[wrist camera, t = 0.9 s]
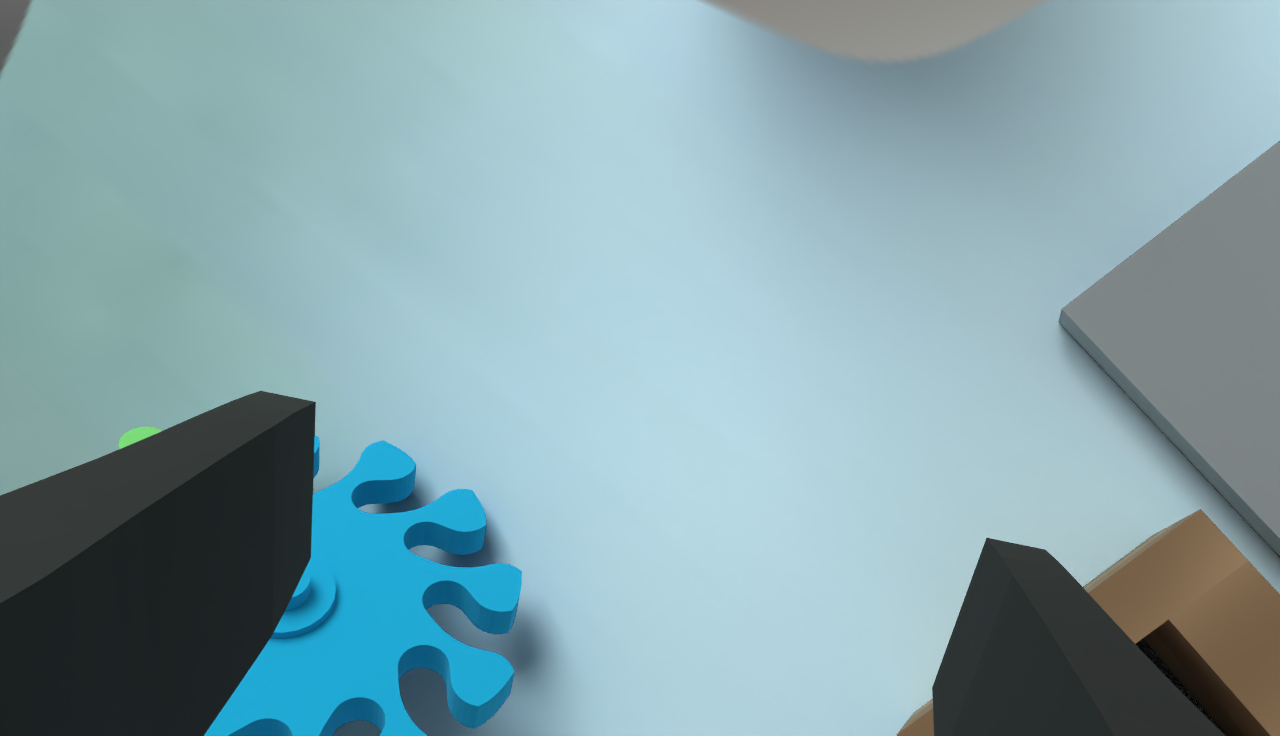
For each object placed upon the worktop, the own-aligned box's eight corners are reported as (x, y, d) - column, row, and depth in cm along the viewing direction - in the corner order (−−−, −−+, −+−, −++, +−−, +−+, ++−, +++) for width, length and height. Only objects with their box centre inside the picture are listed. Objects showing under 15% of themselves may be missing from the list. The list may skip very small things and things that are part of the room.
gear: (625, 635, 23) (145, 938, 17) (580, 780, 27) (174, 1070, 21) (347, 335, 28) (-92, 485, 22) (342, 492, 32) (-35, 655, 26)
